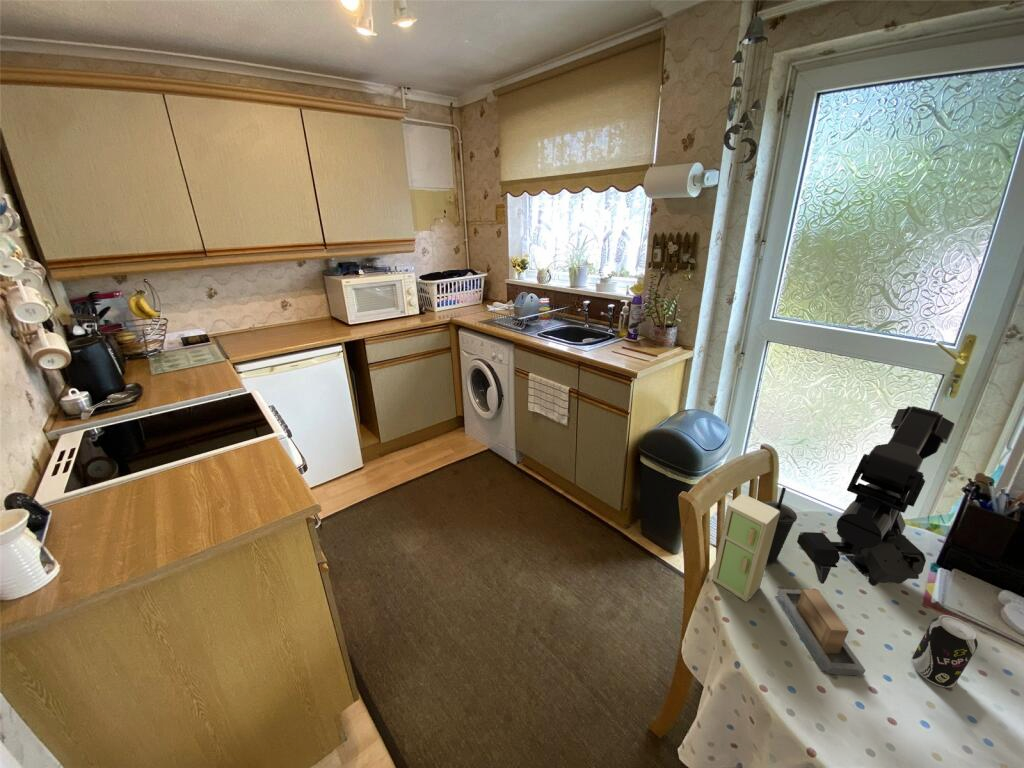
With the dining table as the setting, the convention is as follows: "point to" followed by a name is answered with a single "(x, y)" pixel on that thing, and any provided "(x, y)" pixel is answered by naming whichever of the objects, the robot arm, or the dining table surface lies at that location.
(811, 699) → the dining table surface
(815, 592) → the wooden block
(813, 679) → the dining table surface
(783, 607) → the frame
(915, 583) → the dining table surface
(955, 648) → the beverage can
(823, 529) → the dining table surface
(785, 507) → the drinking cup
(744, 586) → the toy refrigerator
